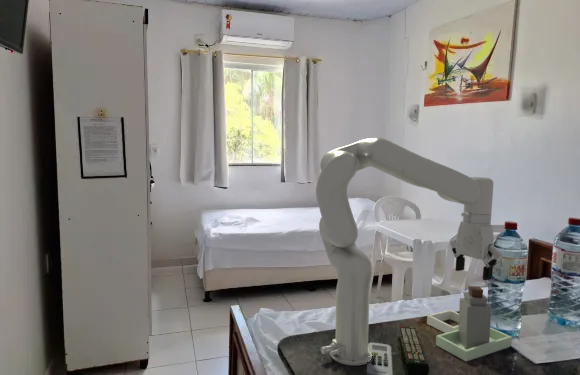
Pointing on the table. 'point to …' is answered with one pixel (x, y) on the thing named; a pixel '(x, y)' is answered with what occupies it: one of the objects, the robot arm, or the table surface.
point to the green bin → (455, 347)
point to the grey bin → (438, 319)
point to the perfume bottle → (474, 318)
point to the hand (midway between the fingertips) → (472, 274)
